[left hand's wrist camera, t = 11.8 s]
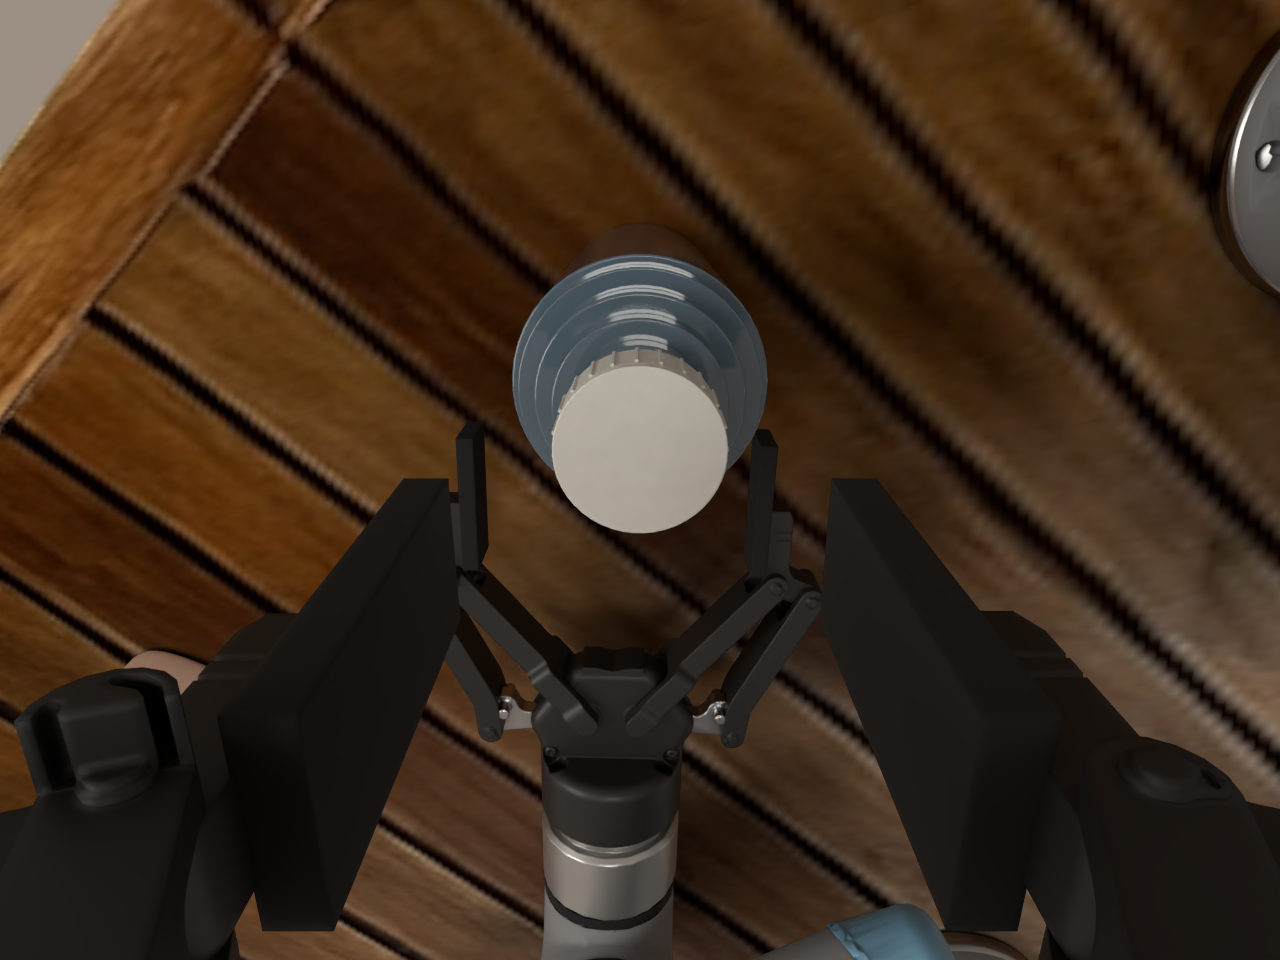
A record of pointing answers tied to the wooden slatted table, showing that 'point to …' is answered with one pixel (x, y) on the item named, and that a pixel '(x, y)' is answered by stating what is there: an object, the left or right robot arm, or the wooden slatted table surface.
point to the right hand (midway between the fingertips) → (617, 432)
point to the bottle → (639, 329)
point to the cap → (639, 441)
